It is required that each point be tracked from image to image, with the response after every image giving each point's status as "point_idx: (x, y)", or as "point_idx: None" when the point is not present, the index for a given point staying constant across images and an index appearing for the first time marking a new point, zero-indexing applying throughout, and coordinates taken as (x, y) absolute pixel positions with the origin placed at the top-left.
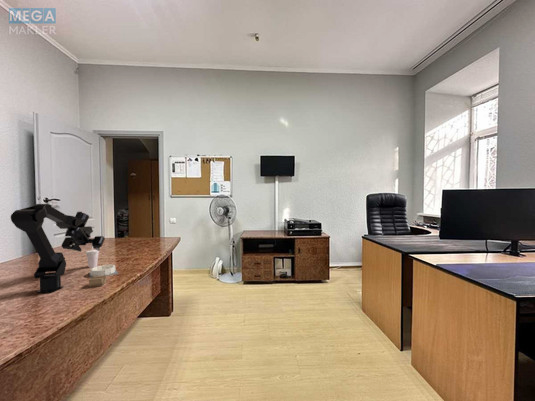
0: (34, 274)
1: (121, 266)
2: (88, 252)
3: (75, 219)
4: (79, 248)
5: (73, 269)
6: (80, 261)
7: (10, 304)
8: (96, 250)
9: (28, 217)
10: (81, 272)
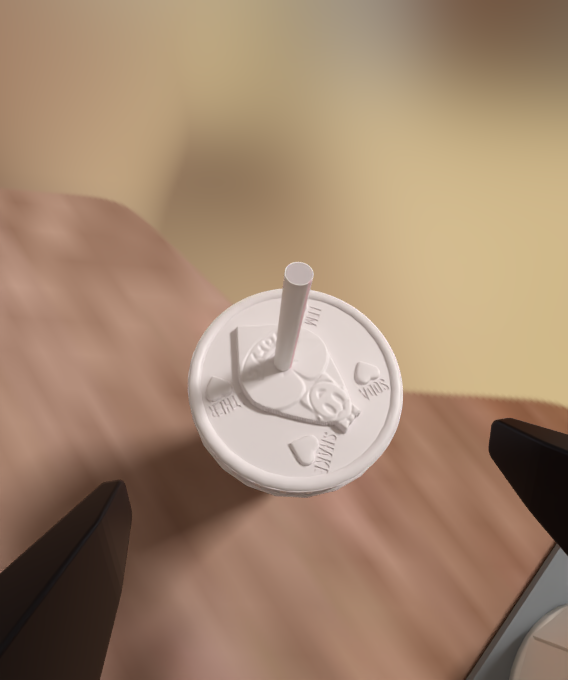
0: None
1: (551, 422)
2: (295, 492)
3: None
4: (91, 588)
5: None
6: (11, 232)
7: None
8: (336, 336)
9: None
10: (281, 664)
